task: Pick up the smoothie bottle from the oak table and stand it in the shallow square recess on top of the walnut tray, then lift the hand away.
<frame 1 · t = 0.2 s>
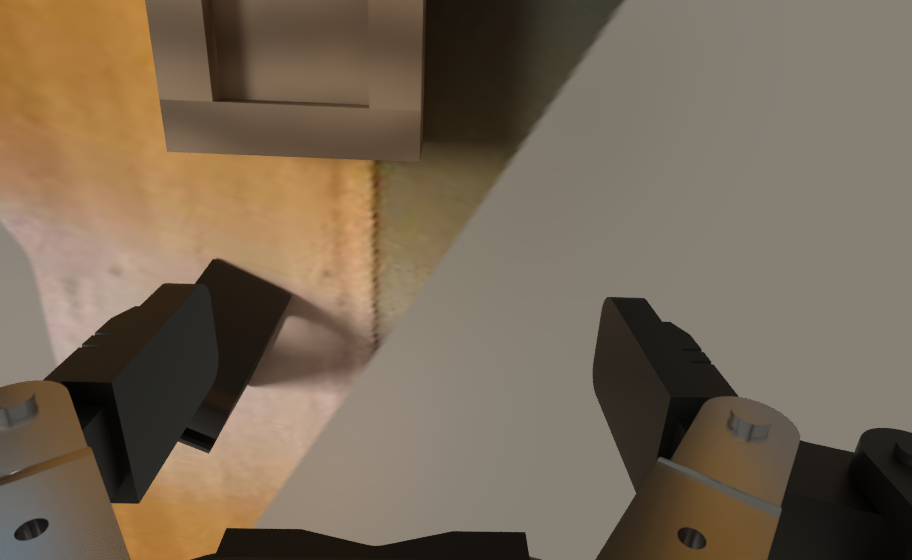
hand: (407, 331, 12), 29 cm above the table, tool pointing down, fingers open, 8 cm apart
walnut tray: (311, 21, 36), on the table
phone stand: (232, 323, 44), on the table
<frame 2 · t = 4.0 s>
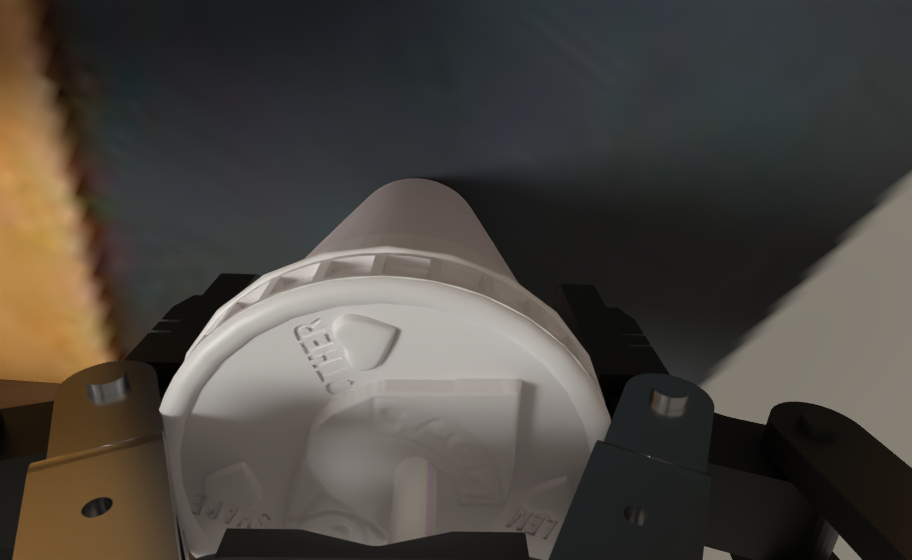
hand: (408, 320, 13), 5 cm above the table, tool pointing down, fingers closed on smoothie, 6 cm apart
walnut tray: (51, 537, 22), on the table
smoothie: (416, 239, 17), on the table, touching gripper
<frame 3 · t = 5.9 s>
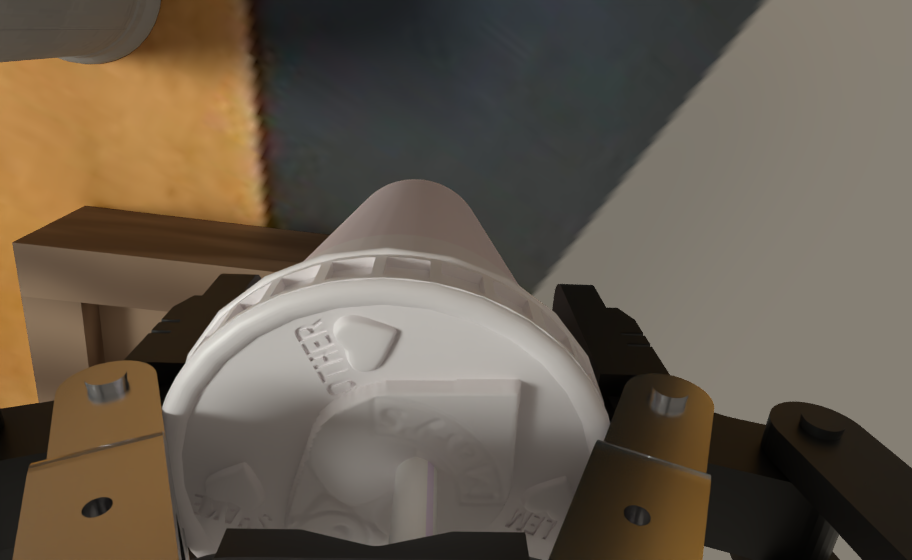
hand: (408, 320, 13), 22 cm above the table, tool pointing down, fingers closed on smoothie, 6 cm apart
walnut tray: (215, 325, 37), on the table
smoothie: (416, 240, 17), point 17 cm above the table, touching gripper
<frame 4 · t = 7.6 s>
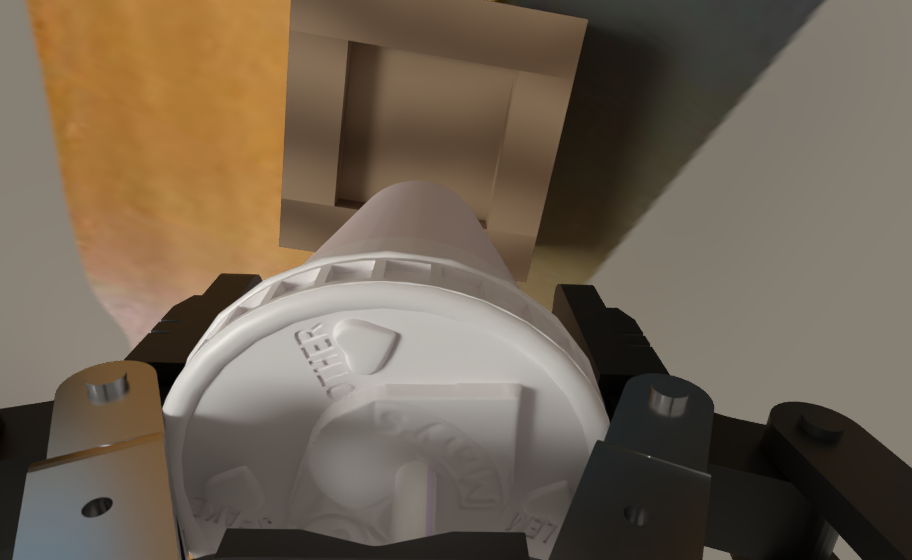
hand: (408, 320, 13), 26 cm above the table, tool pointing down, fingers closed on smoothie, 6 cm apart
walnut tray: (425, 120, 36), on the table
smoothie: (417, 242, 17), point 21 cm above the table, touching gripper
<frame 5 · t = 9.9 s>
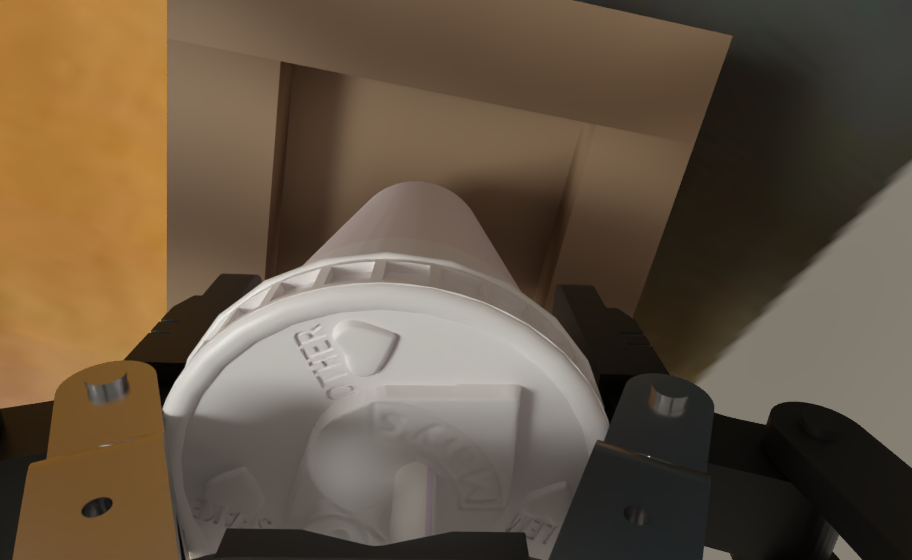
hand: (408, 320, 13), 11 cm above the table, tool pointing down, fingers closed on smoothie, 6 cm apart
walnut tray: (422, 184, 23), on the table
smoothie: (417, 242, 17), point 6 cm above the table, touching gripper
when the fingers open (10 cm above the table, at t = 11.7 s): smoothie stays where it is, resting on walnut tray.
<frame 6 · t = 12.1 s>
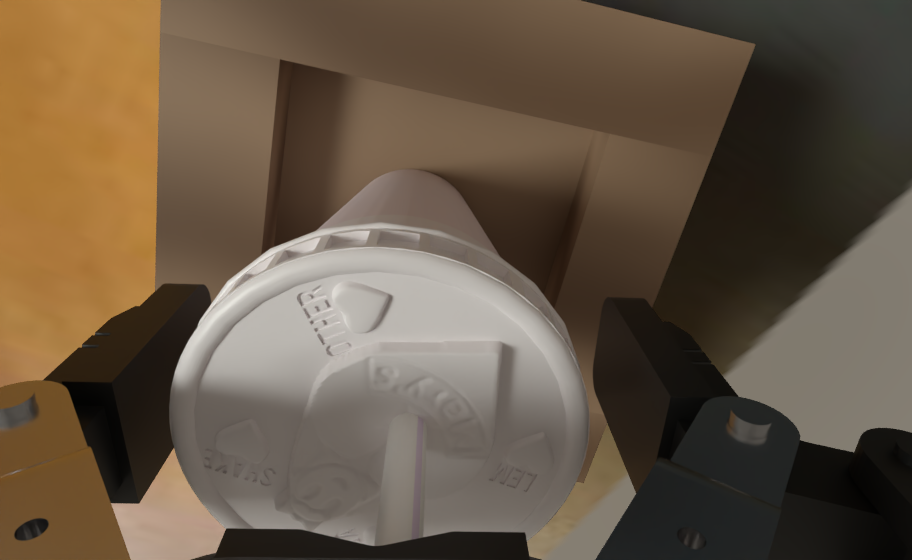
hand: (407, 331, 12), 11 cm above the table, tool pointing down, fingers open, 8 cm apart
walnut tray: (423, 189, 22), on the table, touching smoothie
smoothie: (410, 228, 18), point 4 cm above the table, touching walnut tray
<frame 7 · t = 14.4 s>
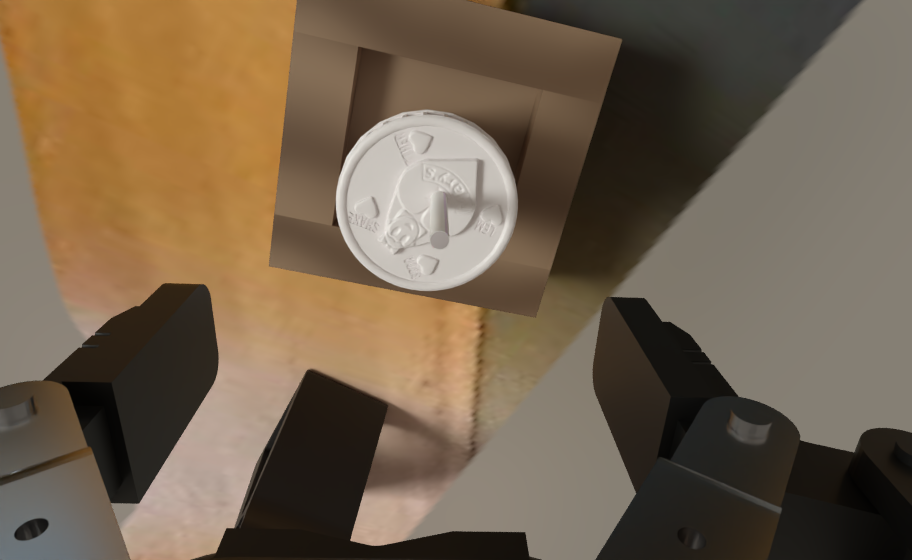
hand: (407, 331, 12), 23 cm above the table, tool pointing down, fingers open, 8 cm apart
walnut tray: (434, 135, 34), on the table, touching smoothie
phone stand: (321, 431, 42), on the table
smoothie: (429, 152, 29), point 4 cm above the table, touching walnut tray
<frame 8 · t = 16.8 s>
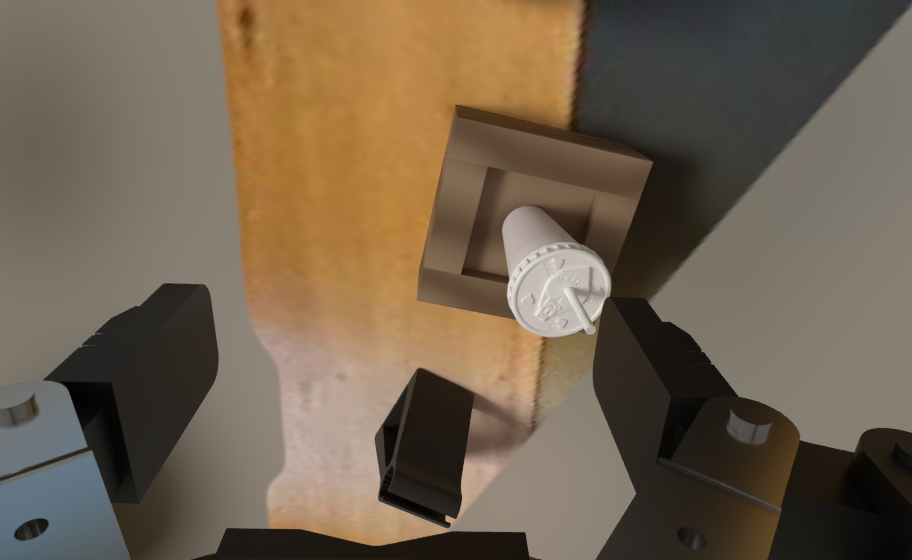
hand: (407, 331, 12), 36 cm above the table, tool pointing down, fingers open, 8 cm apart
walnut tray: (518, 208, 49), on the table, touching smoothie
phone stand: (423, 413, 57), on the table
smoothie: (525, 227, 45), point 5 cm above the table, touching walnut tray
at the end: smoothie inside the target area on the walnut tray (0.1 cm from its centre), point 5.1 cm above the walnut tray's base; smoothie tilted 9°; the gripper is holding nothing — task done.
